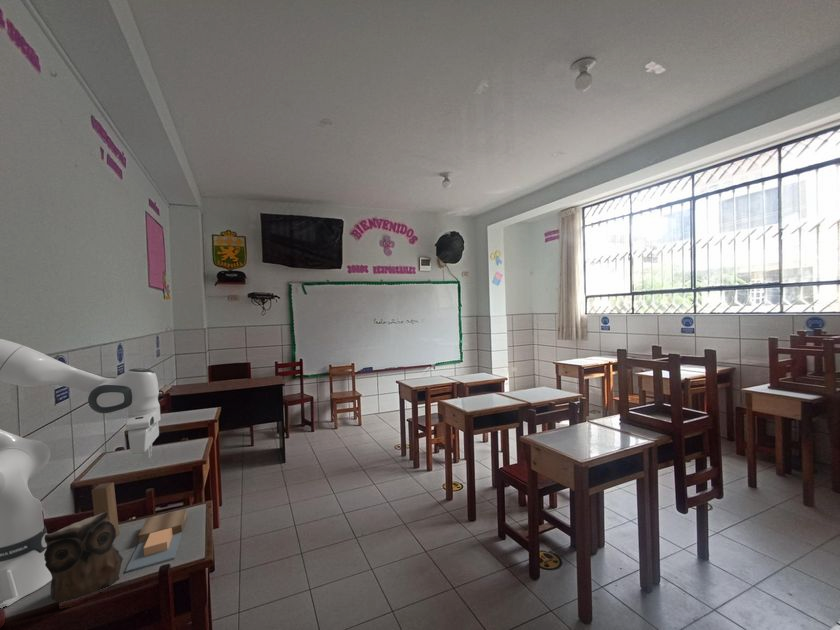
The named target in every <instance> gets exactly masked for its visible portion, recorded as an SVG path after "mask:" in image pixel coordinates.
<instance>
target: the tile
mask: <svg viewBox="0 0 840 630" xmlns="http://www.w3.org/2000/svg"><path fill="white" fill-rule="evenodd" d="M172 535H173V534H172V528H168V529H165V530H161V531H157V532H153V533H150V535H149V537H148V539H147V542H146V544H145V546H144V556H147V555H151V554H154V553H158V552H162V551H165V550H168V547H169V544H170V541H171V538H172Z"/></svg>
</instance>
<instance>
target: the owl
mask: <svg viewBox="0 0 840 630" xmlns="http://www.w3.org/2000/svg"><path fill="white" fill-rule="evenodd" d="M107 516H108V512H104V513H101V514H99V515H96V516H94V515H93V516H90V517H87V518H85V519H82V520H80V521H77V522H73V523H71V524H70V525H67V526H65V527H63V528H61V529H58V530H57V531H54V532H52V533H47V534H46V535H45V542H46V544H47V548H46V551H45V553H44V556H45V561H46V564H45V566H46V567H47V569H48V570H49V571H50V573H51V575H52V580H51V581H50V582H51V583H50V598H51V600H53V601H55V602H56V603H57V604H58V603H61V602H64V601H67V600H71V599H75V598H78V597H81V596H84V595H87V594H90V593H92V592H95V591H98V590H100V589H103V588H106V587H109V586H111V585H112V584H113V585H114V584H115V583H116V582H117V581H119V580H120V576H119V575H120V573H121V567H122V563H123V561H124V558H123V556H122V554H121V553H120V552H119V551H120V550H118V548H116V547H115V544H114V541H115V539H116V538H117V536H118V535H116V529H115V527H114V525H113V524H112V523H111V522H110V521H109V520H108V518H107ZM113 585H112V586H113ZM112 586H111V587H112Z"/></svg>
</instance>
